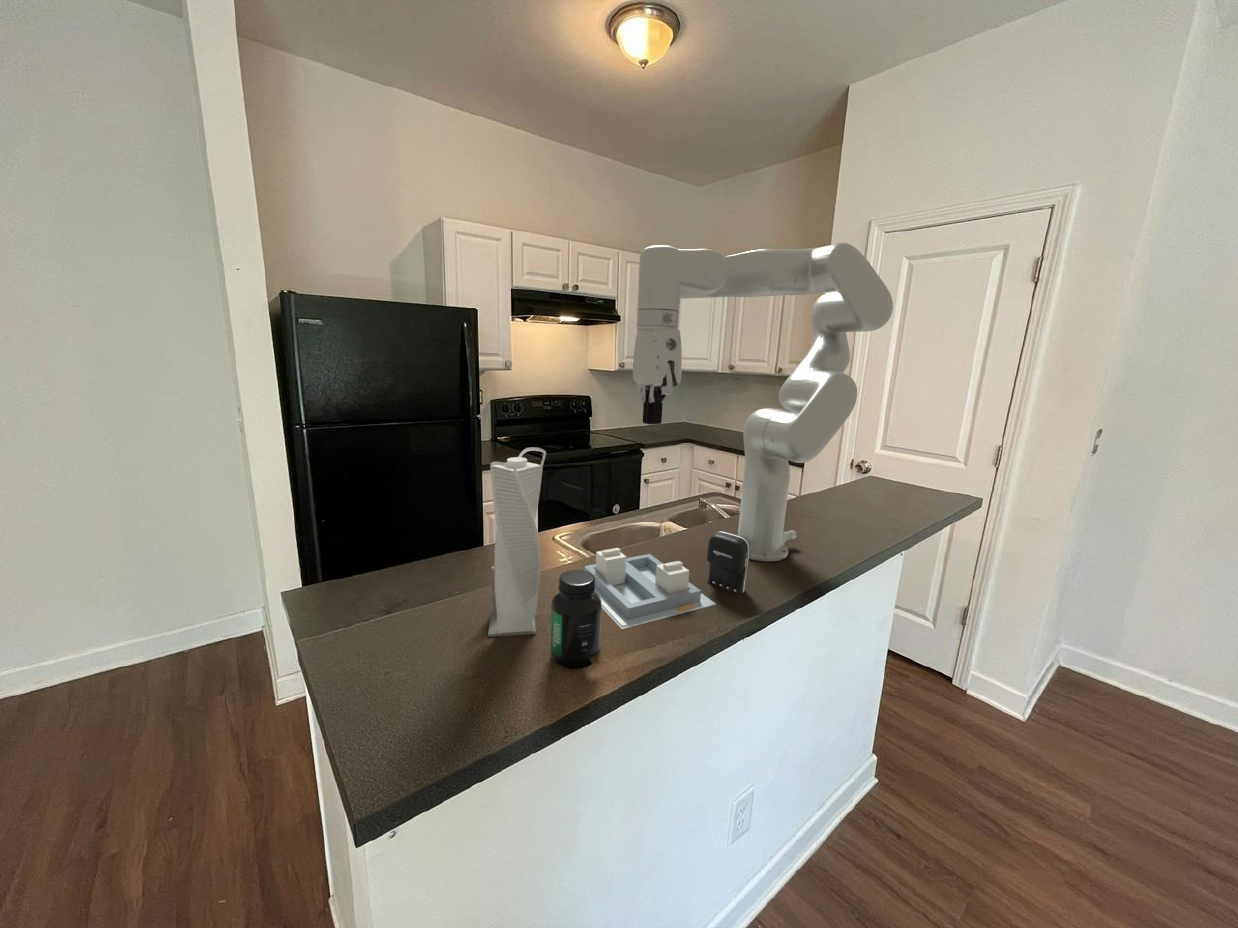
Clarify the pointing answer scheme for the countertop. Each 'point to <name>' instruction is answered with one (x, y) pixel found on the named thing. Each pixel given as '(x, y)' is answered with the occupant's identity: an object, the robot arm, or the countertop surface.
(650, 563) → the switch bank
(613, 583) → the tab
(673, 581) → the tab
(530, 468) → the skyscraper
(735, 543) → the battery charger
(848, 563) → the countertop surface
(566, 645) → the supplement bottle
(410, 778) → the countertop surface
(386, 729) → the countertop surface
